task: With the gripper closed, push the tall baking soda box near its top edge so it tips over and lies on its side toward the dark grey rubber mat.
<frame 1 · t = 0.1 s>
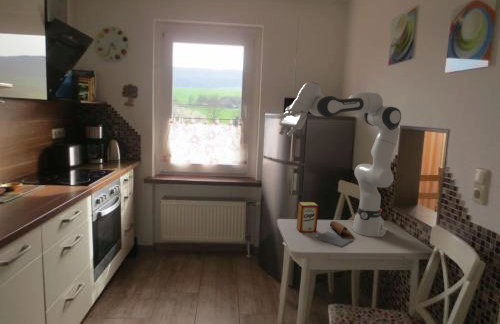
hand: (284, 135, 166), 54 cm above the table, tool tilted 30°, fingers open, 8 cm apart
baking soda box: (306, 230, 189), on the table
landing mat: (333, 239, 178), on the table
sunglasses case: (341, 232, 189), on the table, touching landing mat
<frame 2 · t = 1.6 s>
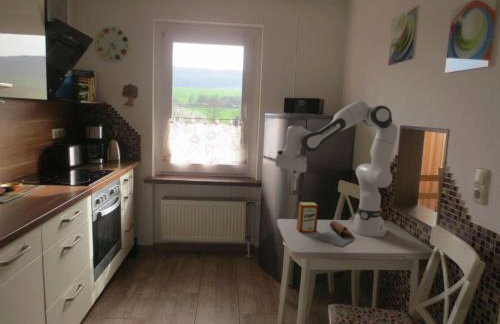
hand: (289, 177, 192), 29 cm above the table, tool pointing down, fingers open, 8 cm apart
nothing on the table moved.
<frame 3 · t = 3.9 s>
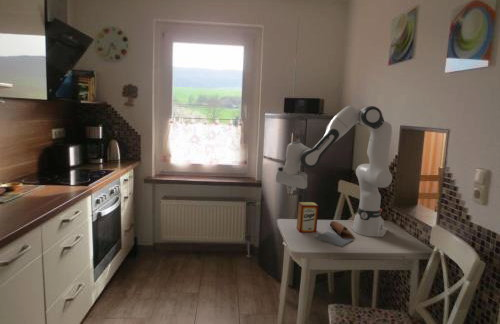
hand: (290, 193, 195), 19 cm above the table, tool pointing down, fingers closed
nothing on the table moved.
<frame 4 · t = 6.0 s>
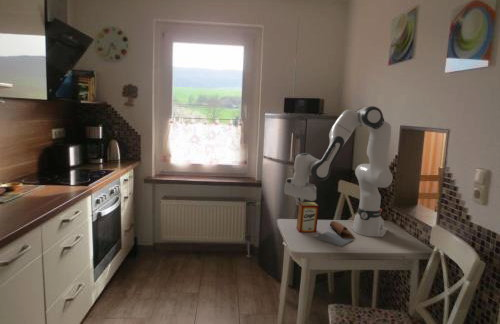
hand: (299, 205, 191), 13 cm above the table, tool pointing down, fingers closed
baking soda box: (306, 230, 189), on the table, touching gripper
everything else where it was.
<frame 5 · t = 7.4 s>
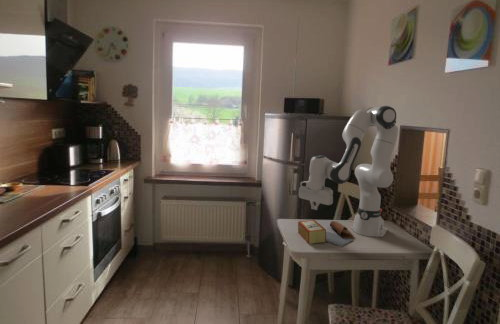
hand: (314, 209, 185), 13 cm above the table, tool pointing down, fingers closed
baking soda box: (306, 226, 185), point 4 cm above the table, touching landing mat
everything else where it was.
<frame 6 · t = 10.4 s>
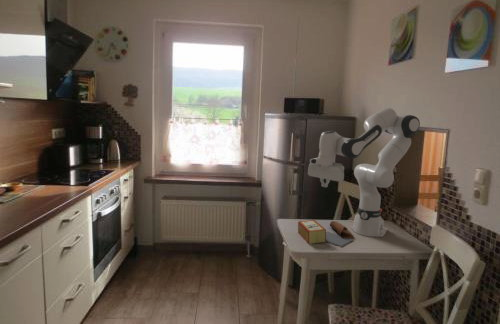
hand: (324, 186, 179), 27 cm above the table, tool pointing down, fingers closed
nothing on the table moved.
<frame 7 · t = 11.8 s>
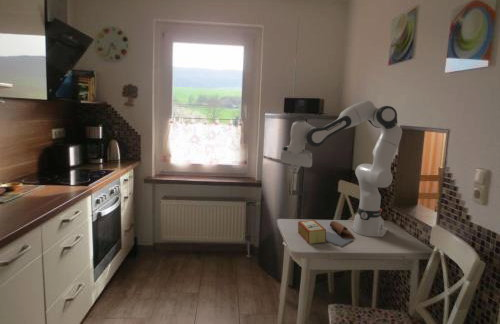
hand: (295, 172, 194), 31 cm above the table, tool pointing down, fingers closed
nothing on the table moved.
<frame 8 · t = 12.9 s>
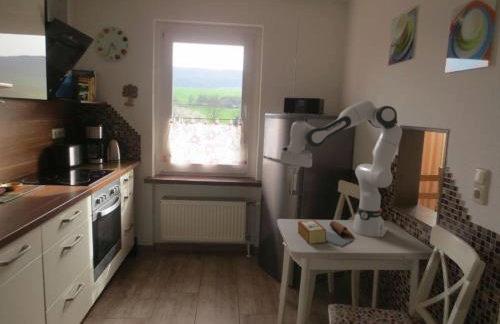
hand: (295, 172, 194), 31 cm above the table, tool pointing down, fingers closed
nothing on the table moved.
at the end: baking soda box tilted 90°; baking soda box inside the target area (4.5 cm from its centre), point 3.7 cm above the table; sunglasses case moved 0.1 cm from its start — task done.
